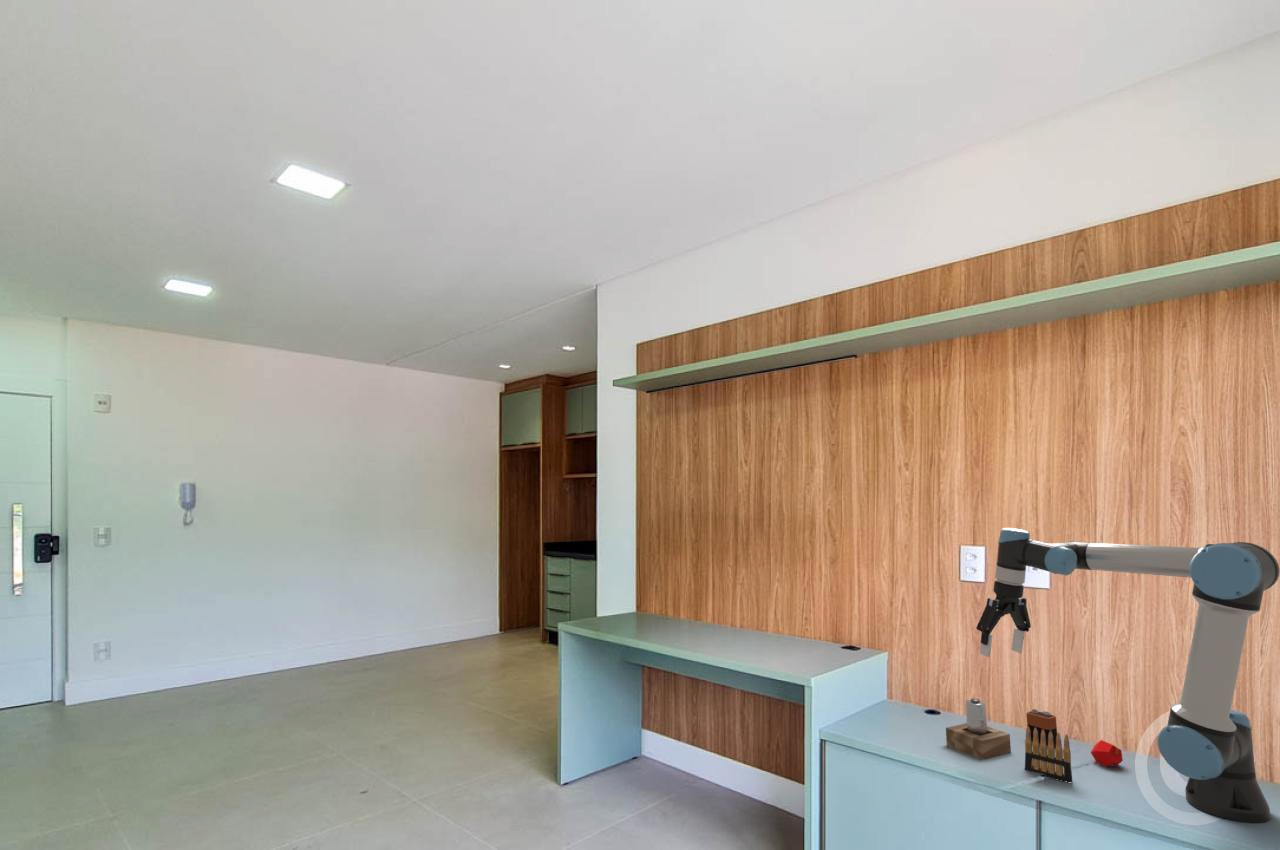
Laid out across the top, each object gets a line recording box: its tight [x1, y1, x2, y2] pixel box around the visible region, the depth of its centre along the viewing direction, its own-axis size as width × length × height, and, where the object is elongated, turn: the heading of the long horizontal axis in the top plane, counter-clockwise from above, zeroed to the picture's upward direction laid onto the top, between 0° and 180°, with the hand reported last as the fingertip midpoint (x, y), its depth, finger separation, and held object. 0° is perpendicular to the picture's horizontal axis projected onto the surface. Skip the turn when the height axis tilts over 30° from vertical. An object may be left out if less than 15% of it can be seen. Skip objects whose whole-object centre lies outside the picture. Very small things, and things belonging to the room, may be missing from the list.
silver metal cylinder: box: [965, 698, 988, 736], centre depth 193 cm, size 5×5×14 cm
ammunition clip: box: [1024, 725, 1073, 783], centre depth 175 cm, size 11×2×12 cm, turn 52°
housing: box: [945, 722, 1012, 760], centre depth 193 cm, size 12×12×6 cm
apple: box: [1090, 739, 1124, 767], centre depth 183 cm, size 7×7×8 cm
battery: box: [1025, 708, 1058, 748], centre depth 198 cm, size 4×7×10 cm, turn 33°
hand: (1001, 653), depth 191 cm, fingers open, 13 cm apart
